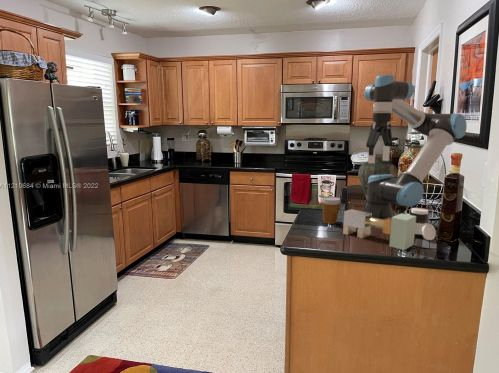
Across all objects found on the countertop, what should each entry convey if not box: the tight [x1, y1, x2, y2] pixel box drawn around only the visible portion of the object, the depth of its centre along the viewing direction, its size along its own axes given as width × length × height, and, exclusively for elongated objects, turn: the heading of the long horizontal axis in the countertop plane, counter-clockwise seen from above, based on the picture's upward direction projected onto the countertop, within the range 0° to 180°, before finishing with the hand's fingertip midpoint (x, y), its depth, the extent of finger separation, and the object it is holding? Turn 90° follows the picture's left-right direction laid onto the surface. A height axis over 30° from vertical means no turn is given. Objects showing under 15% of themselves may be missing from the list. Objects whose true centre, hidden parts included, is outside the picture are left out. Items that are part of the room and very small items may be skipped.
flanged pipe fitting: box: [409, 207, 437, 241], centre depth 157 cm, size 12×11×12 cm
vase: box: [357, 153, 399, 200], centre depth 218 cm, size 22×22×30 cm
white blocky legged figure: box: [342, 208, 372, 239], centre depth 159 cm, size 7×10×10 cm
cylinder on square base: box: [365, 216, 392, 235], centre depth 152 cm, size 5×20×6 cm, turn 45°
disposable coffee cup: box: [320, 196, 342, 225], centre depth 178 cm, size 10×10×12 cm
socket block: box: [388, 212, 416, 251], centre depth 145 cm, size 9×6×12 cm, turn 135°
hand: (378, 161), depth 159 cm, fingers open, 13 cm apart
